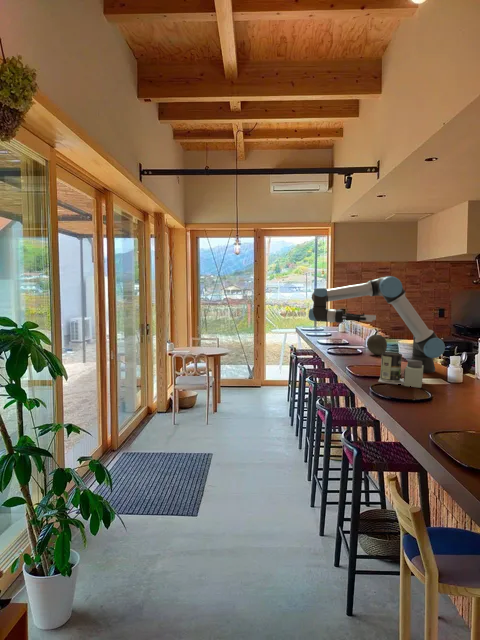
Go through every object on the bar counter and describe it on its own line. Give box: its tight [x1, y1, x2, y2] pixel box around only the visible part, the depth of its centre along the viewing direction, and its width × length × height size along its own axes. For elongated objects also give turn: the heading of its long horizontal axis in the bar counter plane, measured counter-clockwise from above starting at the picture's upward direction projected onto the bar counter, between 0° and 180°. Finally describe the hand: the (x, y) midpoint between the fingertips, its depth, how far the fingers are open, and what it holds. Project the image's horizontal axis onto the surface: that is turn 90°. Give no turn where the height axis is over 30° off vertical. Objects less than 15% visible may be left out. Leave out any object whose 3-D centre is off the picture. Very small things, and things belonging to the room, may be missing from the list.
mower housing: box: [377, 359, 424, 389], centre depth 235 cm, size 21×16×12 cm
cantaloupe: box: [366, 334, 388, 356], centre depth 325 cm, size 14×14×15 cm
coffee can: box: [379, 351, 403, 382], centre depth 237 cm, size 10×10×14 cm
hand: (374, 318), depth 248 cm, fingers open, 13 cm apart
